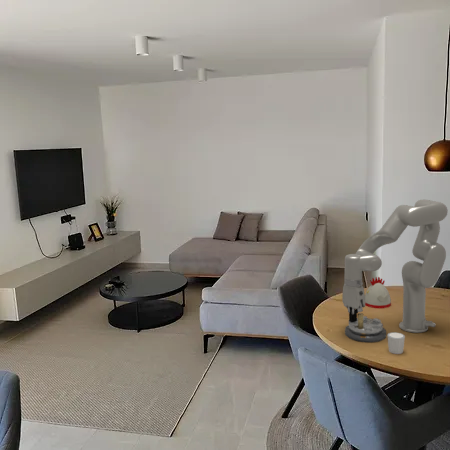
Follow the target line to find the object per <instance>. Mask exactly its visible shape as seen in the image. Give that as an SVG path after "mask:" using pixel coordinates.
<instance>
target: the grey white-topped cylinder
mask: <svg viewBox="0 0 450 450" xmlns="http://www.w3.org/2000/svg"><path fill="white" fill-rule="evenodd" d="M386 337H387V347H388V348H387V349H388V352H389V353H390V354H393V355H394V354H395V355H401V354H403V353H404V348H405V340H406V339H405V338H406V336H405V334H403V333H401V332H388V333H387V334H386Z"/></svg>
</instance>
